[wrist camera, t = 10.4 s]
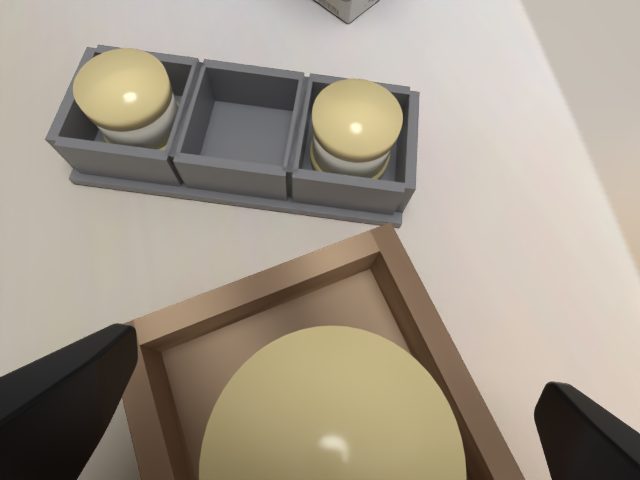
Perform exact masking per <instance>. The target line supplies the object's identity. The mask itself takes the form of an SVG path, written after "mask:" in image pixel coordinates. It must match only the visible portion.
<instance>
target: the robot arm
mask: <svg viewBox="0 0 640 480" xmlns="http://www.w3.org/2000/svg"><path fill="white" fill-rule="evenodd" d="M137 362H138V346H137V333H136V329H135V327H134V326H132V325H126V324H118V323H116V324H113V325H110V326H108V327H106V328H104V329H102V330H100V331H97V332H95V333H93V334H91V335H89V336H87V337H85V338H83V339H80V340H78V341H76V342H74V343H72V344H70V345H68V346H66V347H63V348H61V349H59V350H57V351H55V352H53V353H51V354H49V355H46V356H44V357H42V358H40V359H38V360H36V361H34V362H32V363H30V364H27V365H25V366H23V367H21V368H19V369H17V370H15V371H12V372H10V373H8V374H6V375H4V376H2V377H0V480H77V478H78V477H79V475H80V473H81V472H82V470H83V468H84V467H85V465H86V463H87V462H88V460H89V458H90V457H91V455H92V454H93V452H94V450H95V449H96V447H97V445H98V444H99V442H100V440H101V438H102V437H103V435H104V433H105V431H106V429H107V427H108V425H109V423H110V421H111V419H112V417H113V415H114V413H115V411H116V408H117V406H118V404H119V402H120V400H121V398H122V396H123V393H124V391H125V389H126V387H127V385H128V383H129V381H130V378H131V376H132V374H133V372H134V370H135V368H136V365H137ZM534 420H535V424H536V427H537V430H538V434H539V437H540V441H541V444H542V448H543V451H544V454H545V458H546V461H547V465H548V468H549V472H550V475H551V478H552V480H640V433H638V432H637V431H635V430H634V429H632V428H631V427H630V426H628V425H627V424H625V423H624V422H623V421H621V420H620V419H618V418H617V417H616V416H614V415H613V414H611V413H610V412H608V411H607V410H606V409H604V408H603V407H601V406H600V405H599V404H597V403H596V402H594V401H593V400H592V399H590V398H589V397H587V396H586V395H584V394H583V393H582V392H580V391H579V390H577V389H576V388H575V387H573V386H572V385H570V384H567V383H560V382H548V383H547V384H546V385H545V387H544V389H543V392H542V394H541V396H540V398H539V401H538V403H537V405H536V407H535V411H534Z"/></svg>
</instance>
